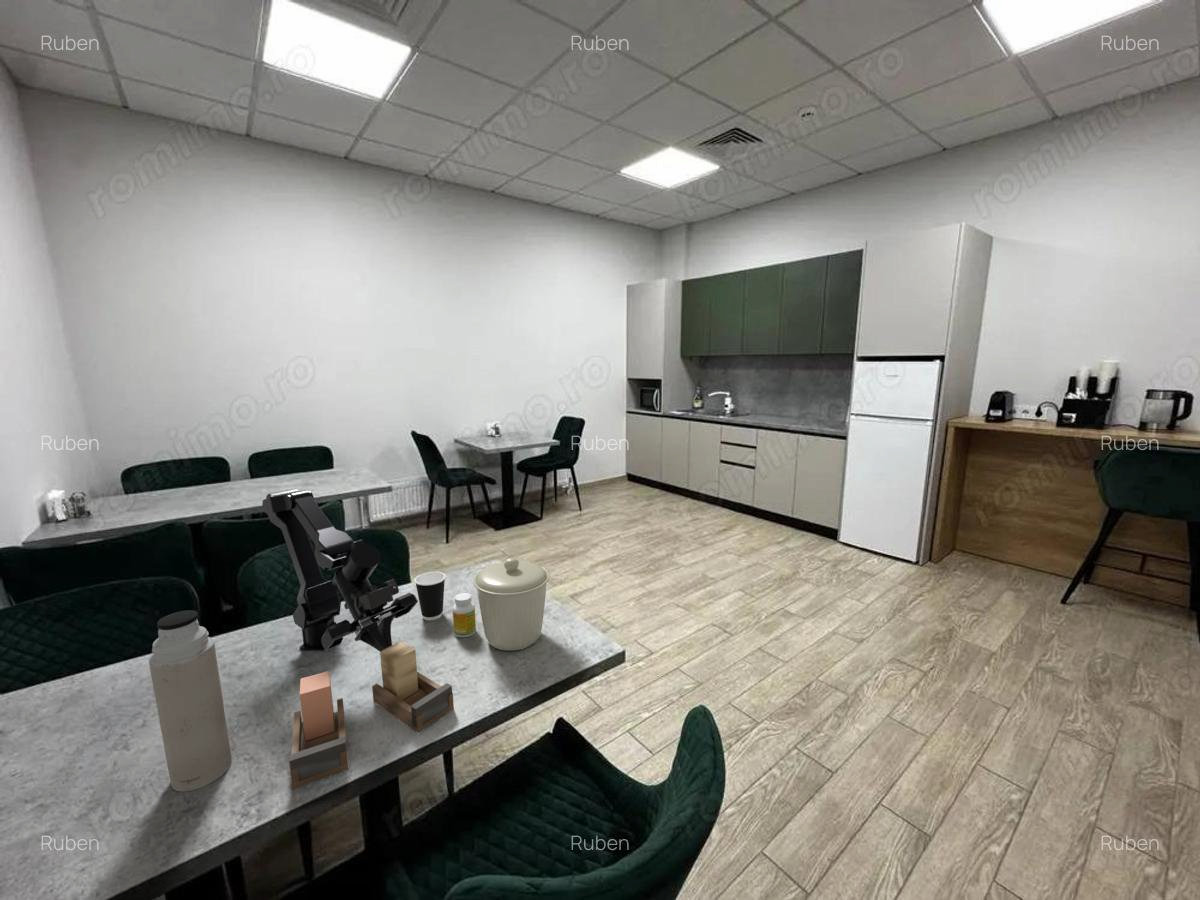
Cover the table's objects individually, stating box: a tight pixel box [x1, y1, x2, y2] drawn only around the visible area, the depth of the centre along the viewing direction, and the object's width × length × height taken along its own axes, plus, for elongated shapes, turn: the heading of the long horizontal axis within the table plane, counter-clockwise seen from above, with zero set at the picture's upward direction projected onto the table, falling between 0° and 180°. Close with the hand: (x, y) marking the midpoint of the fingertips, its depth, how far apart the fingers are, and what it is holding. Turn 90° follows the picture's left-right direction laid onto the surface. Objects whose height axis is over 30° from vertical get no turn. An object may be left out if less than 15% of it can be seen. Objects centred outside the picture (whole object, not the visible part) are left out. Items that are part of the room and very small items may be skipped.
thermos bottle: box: [148, 609, 233, 793], centre depth 79 cm, size 8×8×28 cm
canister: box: [472, 557, 550, 652], centre depth 119 cm, size 18×18×21 cm
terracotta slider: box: [299, 670, 335, 741], centre depth 89 cm, size 5×5×9 cm
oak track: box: [371, 671, 455, 734], centre depth 97 cm, size 15×8×5 cm, turn 55°
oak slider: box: [379, 640, 418, 700], centre depth 99 cm, size 5×5×9 cm
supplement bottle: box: [452, 592, 477, 638], centre depth 123 cm, size 5×5×10 cm
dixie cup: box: [413, 571, 447, 622], centre depth 131 cm, size 8×8×11 cm
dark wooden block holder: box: [288, 697, 349, 790], centre depth 86 cm, size 15×8×5 cm, turn 30°
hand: (390, 655), depth 100 cm, fingers closed
